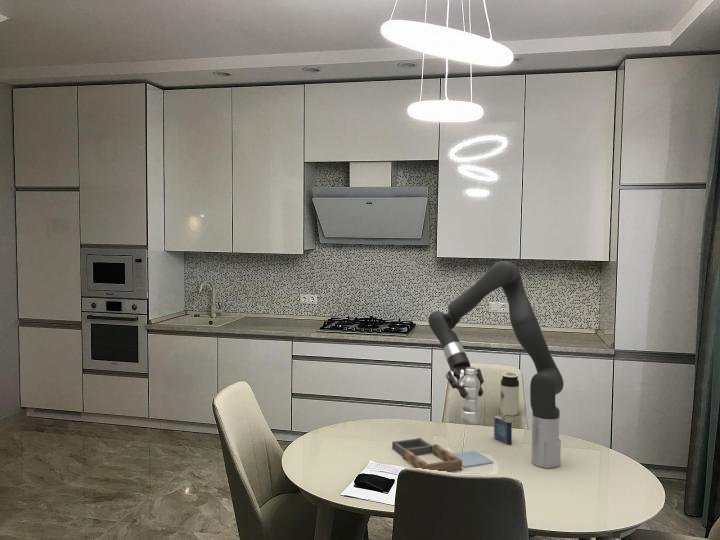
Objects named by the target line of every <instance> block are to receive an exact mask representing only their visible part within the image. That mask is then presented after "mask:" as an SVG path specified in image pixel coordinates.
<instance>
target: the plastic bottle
mask: <svg viewBox="0 0 720 540" xmlns="http://www.w3.org/2000/svg"><path fill="white" fill-rule="evenodd" d="M476 370H477V368H476V367H474V366H473V367H467V368H466V372H465V373H466V376H465V377H464V378H463V380H462V387H464V389H465V392H466V394H467V396H466V398H463V397H462V406H461V411H460V419H461V421H462V423H465V424H470V425H473V424H475V425H476V424H477V423H478V422H479V421H480V410H479V396H478V394H479V388H480V381H479V379H478V378H477V376H476Z"/></svg>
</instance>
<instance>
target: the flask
mask: <svg viewBox="0 0 720 540" xmlns="http://www.w3.org/2000/svg"><path fill="white" fill-rule="evenodd" d="M493 421H494V422H493V440H495V439H496V440H497V441H498V442H500V441H501V442H502V443H503V444H504V443H505V445H506V444H507V446H511V445H512V444H513V443H512V441H513V440H512V439H513V437H512V436H513V434H512V432H513V430H512V429H513V427H512V426H513V423H512V420H510V419H508V418H507V417H506V415H504V414H501V415H500V416H498V415H495V416H494V417H493ZM496 440H495V441H496ZM501 442H500V443H501Z"/></svg>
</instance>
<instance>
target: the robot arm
mask: <svg viewBox="0 0 720 540" xmlns="http://www.w3.org/2000/svg"><path fill="white" fill-rule="evenodd" d="M499 288H501V289H502V290H503V292H504V296H505V297H506V299H507V303H508V310H509V311H508V313H509V320H510V325H511V327H512V331H513V332H514V335H515V338H516V340H517V342H518V343H519V345H520V346H521V347H522V349H524V351H525V352H526V353H527V354H528V356H529V357H530V358H531V360H532V362H533V364H534V367H535V369H536V373H535V374H534V375H533V376H532V377H531V380H530V384H529V385H530V387H529V396H530V397H529V399H530V401H529V403H530V408H531V410H532V413H531V414H532V418H531V419H532V420H531V422H532V424H531V425H532V426H531V463H532V464H533V465H534V466H537V467H540V468H544V469H553V468H558V467H560V466H561V455H562V453H561V450H562V449H561V448H562V447H561V446H562V441H561V439H560V415H561V414H560V409H559V407H558V406H557V405H556V396H557V395H558V394H560V393H561V392H562V391H563V389H564V378H563V376H562V373H561V372H560V370H559V368H558V366H557V364H556V362H555V360H554V358H553V357H552V354H551V352H550V349H549V347H548V344H547V341H546V339H545V337H544V335H543V332H542V328H541V326H540V323H539V321H538V319H537V316H536V314H535V312H534V309H533V306H532V304H531V302H530V300H529V297H528V296H527V293H526V290H525V286H524V283H523V279H522V275H521V272H520V270H519V267H518V266H517V265H516V264H515V263H513V262H511V261H505V260H500V261H497V262H495V263H494V264H493V265H492V266H491V267H490V268H489V269H488V270H487V271H486V272H485V273H484V274H483V275H482V276H481V278H480V279H478V280H477V281H476V282H475V284H473V285H472V286H471V287H469V288H468V289H467V290H466V291H464V292H463V293H462V294H460V295H459V296H458V297H456V298H455V299H454V300H452V301H451V302H450V303H449V304H448V306H447V309H448V312H447V313H444V312H441V311H439V310H435V311H433V312H431V313H430V314H429V316H428V325H429V328H430V329H431V331H432V333H433V335H435V337H436V338H437V339H438V341H439V343H440V345H441V349H442V351H443V354H444V355H443V356H445V360H446V362H447V364H448V367H449V369H450V370H448V371H447V373H446V374H445V377H446V379H447V381H448V383H449V385H450V387H451V388H452V389H457V390H458V392H459V395H460V397H461V398H462V399H463V398H466V396H467V394H466V392H465V389H464V387H462V380H463V378H464V377H465V376H466V373H465V372H466V368H467V367H471V362H470V360H469V358H468V355H467V353H466V352H465V351H466V350H465V349H464V346H462V344H461V341H460V339H459V337H458V335H457V333H456V332H455V331H454V330H453V329H454V328H455V327H456V326H457V325H458V323H459V322H460V321H461V320H462V318H463V317H465V316H466V315H467V314H468V313H470V312H471V311H473V310H474V309H475V308H476V307H477V306H478V305H479V304H480V303H481V301H483V299H484V298H485V297H487V296H488V295H489V294H490V293H491V292H493V291H495V290H497V289H499ZM476 376H477V378H478V379H479V381H480V388H479V394H478V398H479V397H482V396H483V394H484V390H483V388H482V385H483V383H484V382H485V381H484V377H483V373H482V371H481V368H476Z"/></svg>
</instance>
